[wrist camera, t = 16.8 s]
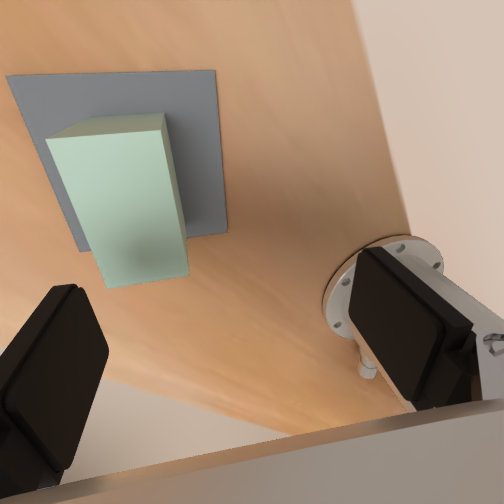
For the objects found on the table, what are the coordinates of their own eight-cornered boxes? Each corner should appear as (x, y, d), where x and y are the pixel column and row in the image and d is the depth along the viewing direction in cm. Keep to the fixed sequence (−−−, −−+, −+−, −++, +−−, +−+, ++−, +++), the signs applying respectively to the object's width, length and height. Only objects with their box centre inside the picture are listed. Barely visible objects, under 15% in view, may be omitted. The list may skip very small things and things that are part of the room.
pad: (226, 229, 21) (227, 232, 21) (81, 248, 19) (79, 252, 19) (213, 70, 16) (214, 70, 15) (9, 75, 14) (5, 75, 13)
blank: (185, 224, 19) (189, 275, 15) (124, 232, 19) (107, 289, 14) (164, 112, 16) (160, 130, 11) (87, 117, 15) (45, 139, 10)
